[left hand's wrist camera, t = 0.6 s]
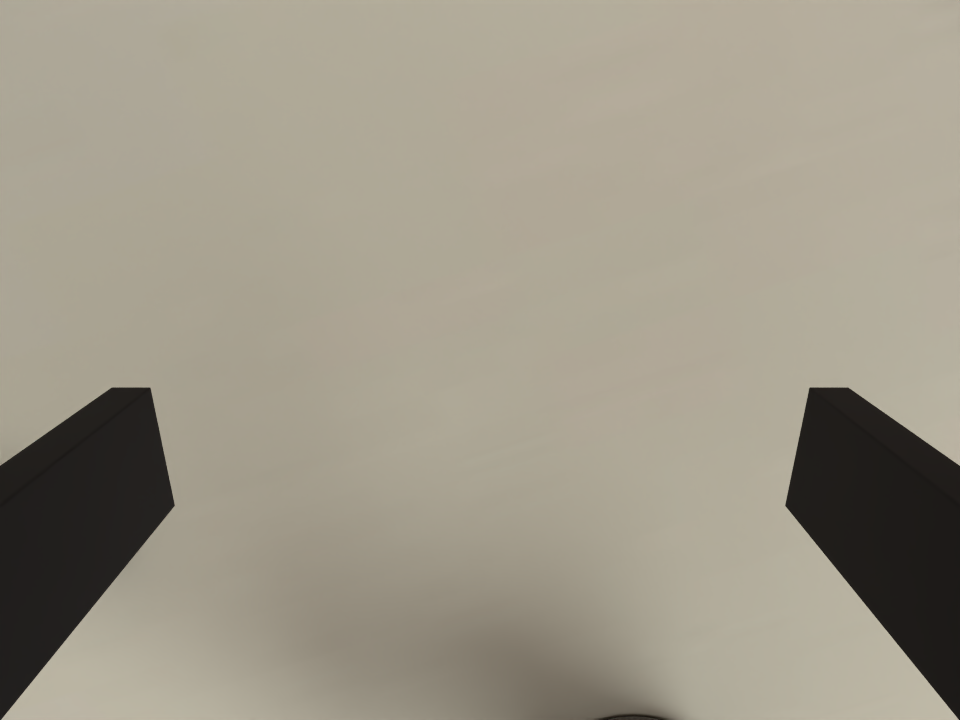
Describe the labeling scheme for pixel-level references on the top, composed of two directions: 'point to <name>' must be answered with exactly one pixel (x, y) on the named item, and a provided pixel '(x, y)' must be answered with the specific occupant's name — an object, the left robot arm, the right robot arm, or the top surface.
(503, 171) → the top surface
